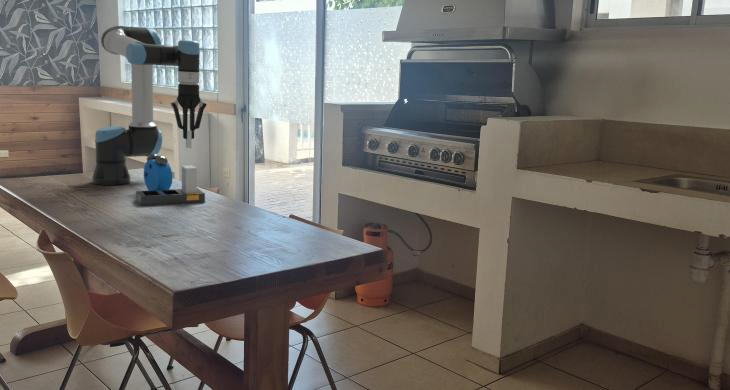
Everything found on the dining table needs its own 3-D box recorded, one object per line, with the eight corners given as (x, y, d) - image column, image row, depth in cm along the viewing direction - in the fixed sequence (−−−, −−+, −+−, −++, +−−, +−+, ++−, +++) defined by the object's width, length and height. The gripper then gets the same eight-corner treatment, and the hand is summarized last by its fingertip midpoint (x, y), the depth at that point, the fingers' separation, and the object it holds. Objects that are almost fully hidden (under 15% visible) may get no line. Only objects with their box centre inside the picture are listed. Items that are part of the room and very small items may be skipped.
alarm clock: (173, 194, 261) (172, 156, 259) (158, 195, 257) (157, 157, 254) (157, 189, 271) (156, 152, 268) (143, 190, 266) (142, 153, 264)
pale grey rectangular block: (181, 196, 253) (181, 165, 251) (192, 196, 255) (192, 165, 253) (185, 200, 247) (185, 168, 245) (197, 199, 249) (196, 168, 247)
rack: (135, 200, 247) (135, 190, 247) (197, 197, 258) (197, 187, 257) (141, 206, 238) (140, 196, 237) (205, 202, 248) (205, 193, 248)
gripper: (172, 83, 237) (172, 149, 242) (209, 84, 243) (208, 148, 248) (168, 82, 243) (168, 146, 248) (203, 83, 249) (203, 146, 254)
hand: (188, 147), depth 248 cm, fingers closed
